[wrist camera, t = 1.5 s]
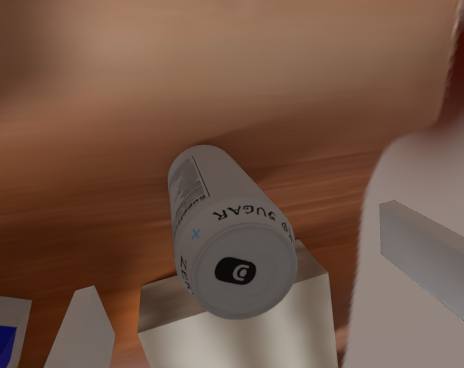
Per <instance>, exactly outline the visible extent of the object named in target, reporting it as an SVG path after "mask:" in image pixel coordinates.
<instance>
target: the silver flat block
mask: <svg viewBox="0 0 464 368" xmlns="http://www.w3.org/2000/svg"><path fill="white" fill-rule="evenodd" d="M295 252H296V256H297V265H298V267H297V274H296V278H295V281H294V283H293V286H292V287H291V289H290V291H289V292H288V294H287V295H286V296H285V297H284V299H283V300H282V301H281V302H280V303H278V304H277V305H276V306H275V307H274V308H272V309H270V310H269V311H267V312H266V313H263V314H261V315H259V316H256V317H253V318H249V319H243V320H229V319H224V318H220V317H217V316H215V315H213V314H211V313H209V312H208V311H207V310H205V309H204V308H203V307H202V306H201V305H200V304H199V302H198V301H197V300H196V298H195V297H194V296H193V295H192V294H191V293H190V292H188V291H187V289H186V288H185V287H184V286H183V284H182V283H181V281H180V279H179V277H178V275H176V276H173V277H170V278H166V279H163V280H160V281H156V282H153V283H149V284H146V285H143V286H141V297H140V308H139V320H138V332H137V334H138V336H139V339H140V341H141V344H142V347H143V349H144V352H145V354H146V357H147V359H148V362H149V364H150V367H151V368H338V363H337V353H336V343H335V333H334V323H333V313H332V303H331V294H330V284H329V274H328V272H327V271H326V270H325V268H324V267H323V266H322V265H321V264H320V263H319V262H318V260H317V259H316V258H315V257H314V256H313V255H312V254H311V252H310V251H309V250H308V249H307V248H306V247H305V246H304V244H303V243H302V242H301V241H300V240H299V239H297V240H295Z"/></svg>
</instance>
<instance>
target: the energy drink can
mask: <svg viewBox="0 0 464 368" xmlns="http://www.w3.org/2000/svg"><path fill="white" fill-rule="evenodd" d="M168 190H169V201H170V213H171V225H172V236H173V248H174V259H175V266H176V271H177V275H178V277H179V279H180V281H181V283H182V284H183V286H184V287H185V288H186V289H187V291H188V292H190V293H191V294H192V295H193V296H194V297H195V298H196V300H197V301H198V302H199V304H200V305H201V306H202V307H203V308H204V309H205V310H207V311H208V312H209V313H211V314H213V315H215V316H217V317H220V318H224V319H229V320H243V319H249V318H253V317H256V316H259V315H261V314H263V313H266V312H267V311H269V310H270V309H272V308H274V307H275V306H276V305H277V304H278V303H280V302H281V301H282V300H283V299H284V297H285V296H286V295H287V294H288V292H289V291H290V289H291V287H292V286H293V283H294V281H295V278H296V274H297V267H298V265H297V256H296V252H295V236H294V233H293V229H292V226H291V224H290V222H289V221H288V219H287V217H286V216H285V215H284V214H283V213H282V212H281V211H280V209H279V208H278V207H277V206H276V205H275V204H274V203H273V202H272V201H271V200H270V199H269V198H268V196H267V195H266V194H265V193H264V192H263V191H262V190H261V189H260V188H259V187H258V186H257V185H256V183H255V182H254V181H253V180H252V179H251V178H250V177H249V176H248V175H247V174H246V173H245V172H244V171H243V169H242V168H241V167H240V166H239V165H238V164H237V163H236V162H235V161H234V160H233V159H232V158H231V156H230V155H229V154H228V153H226V152H225V151H224V150H222V149H220V148H218V147H215V146H211V145H198V146H194V147H191V148H188V149H187V150H185V151H183V152H182V153H181V154H180V155H178V156H177V157H176V159H175V160H174V161H173V163H172V165H171V167H170V169H169V174H168Z"/></svg>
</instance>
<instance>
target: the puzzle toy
mask: <svg viewBox="0 0 464 368" xmlns="http://www.w3.org/2000/svg"><path fill="white" fill-rule="evenodd" d="M31 305H32V300H27V299H19V298H11V297H3V296H0V368H18V366H19V361H20V356H21V352H22V347H23V342H24V338H25V333H26V328H27V324H28V319H29V314H30V310H31Z"/></svg>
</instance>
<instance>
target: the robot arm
mask: <svg viewBox="0 0 464 368" xmlns="http://www.w3.org/2000/svg"><path fill="white" fill-rule="evenodd" d="M380 238H381V254H382V255H383V256H384V257H386V258H387V259H388V260H389V261H391V262H392V263H393V264H394V265H395V266H397V267H398V268H399V269H401V270H402V271H403V272H404V273H405V274H407V275H408V276H409V277H410V278H411V279H413V280H414V281H415V282H416V283H418V284H419V285H420V286H422V287H423V288H424V289H425V290H427V291H428V292H429V293H430V294H431V295H433V296H434V297H435V298H436V299H437V300H439V301H440V302H441V303H442V304H444V305H445V306H446V307H447V308H449V309H450V310H451V311H452V312H454V313H455V314H456V315H457V316H459V317H460V318H461V319H462V320H464V237H463V236H461V235H459V234H457V233H455V232H453V231H451V230H450V229H448V228H445V227H444V226H442V225H440V224H438V223H436V222H434V221H433V220H431V219H429V218H427V217H425V216H423V215H421V214H419V213H417V212H416V211H414V210H412V209H410V208H408V207H406V206H404V205H402V204H400V203H398V202H396V201H395V200H393V201H389V202H386V203H382V204H380ZM114 341H115V333H114V330H113V328H112V326H111V323H110V321H109V319H108V316H107V314H106V312H105V309H104V307H103V305H102V302H101V300H100V298H99V295H98V293H97V291H96V288H95V286H90V287H87V288H83V289H80V290H76V291H75V293H74V295H73V298H72V300H71V302H70V305H69V307H68V310H67V312H66V315H65V317H64V319H63V322H62V324H61V327H60V329H59V332H58V334H57V336H56V339H55V341H54V344H53V346H52V349H51V351H50V353H49V356H48V358H47V361H46V363H45V366H44V368H110V362H111V357H112V351H113V346H114Z"/></svg>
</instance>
